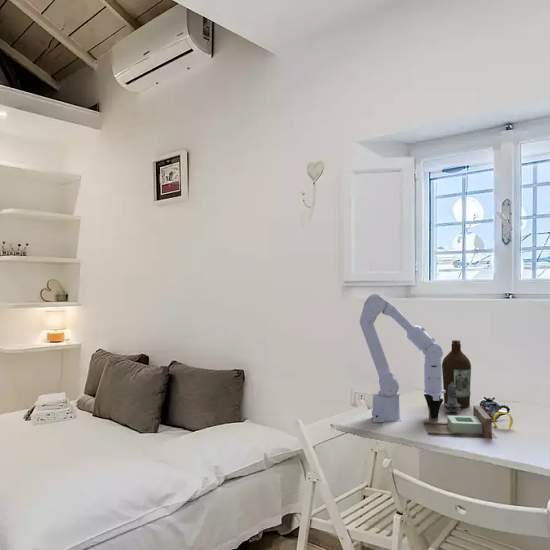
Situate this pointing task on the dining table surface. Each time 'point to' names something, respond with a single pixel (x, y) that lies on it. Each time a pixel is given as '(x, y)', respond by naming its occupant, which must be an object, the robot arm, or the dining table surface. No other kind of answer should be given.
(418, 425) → the dining table surface
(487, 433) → the walnut board
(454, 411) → the salt shaker
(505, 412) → the watch
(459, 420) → the sage socket block
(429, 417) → the oak dowel
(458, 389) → the olive oil
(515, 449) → the dining table surface
